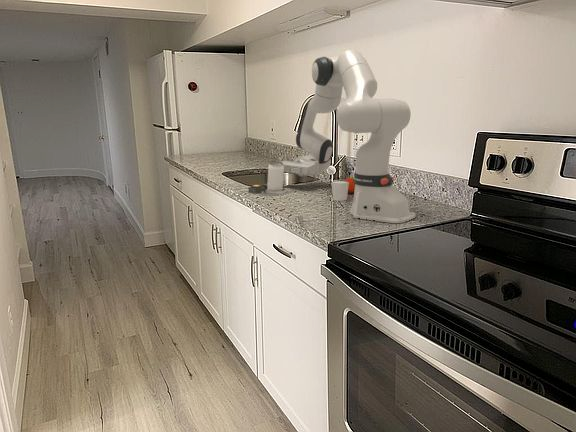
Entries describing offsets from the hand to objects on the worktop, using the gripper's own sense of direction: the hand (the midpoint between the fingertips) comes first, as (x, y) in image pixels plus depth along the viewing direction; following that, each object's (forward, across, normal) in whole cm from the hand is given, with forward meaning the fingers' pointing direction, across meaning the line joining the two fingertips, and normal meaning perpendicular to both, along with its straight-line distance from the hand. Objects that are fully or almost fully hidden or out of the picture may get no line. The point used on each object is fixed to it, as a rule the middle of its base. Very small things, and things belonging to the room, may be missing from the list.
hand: (282, 169), depth 193 cm
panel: (+6, -2, +10) cm, 12 cm away
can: (+4, -1, +8) cm, 9 cm away
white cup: (-6, +26, +10) cm, 28 cm away
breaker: (+9, -7, +8) cm, 14 cm away
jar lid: (+5, 0, +9) cm, 10 cm away
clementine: (-19, +23, +10) cm, 32 cm away
